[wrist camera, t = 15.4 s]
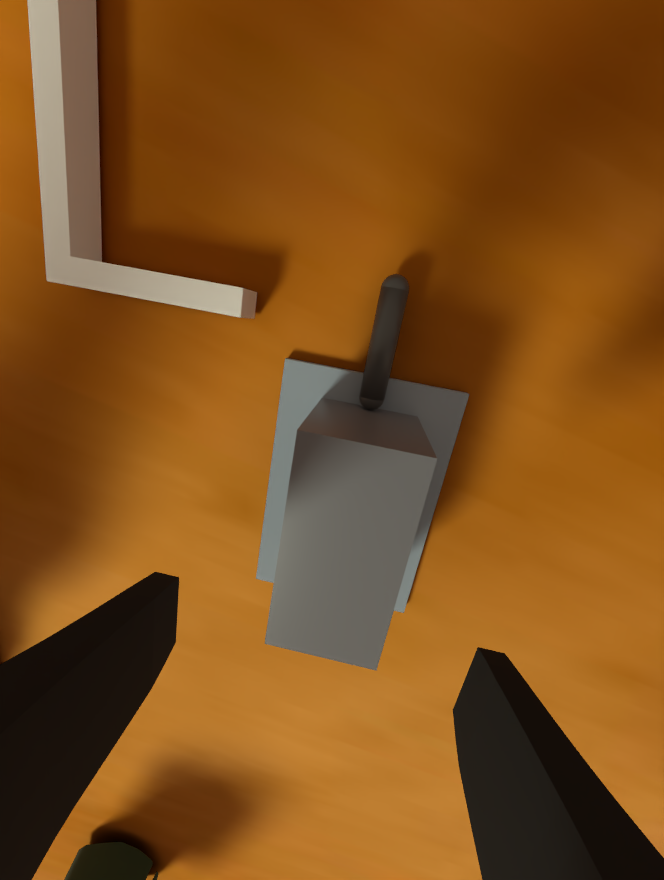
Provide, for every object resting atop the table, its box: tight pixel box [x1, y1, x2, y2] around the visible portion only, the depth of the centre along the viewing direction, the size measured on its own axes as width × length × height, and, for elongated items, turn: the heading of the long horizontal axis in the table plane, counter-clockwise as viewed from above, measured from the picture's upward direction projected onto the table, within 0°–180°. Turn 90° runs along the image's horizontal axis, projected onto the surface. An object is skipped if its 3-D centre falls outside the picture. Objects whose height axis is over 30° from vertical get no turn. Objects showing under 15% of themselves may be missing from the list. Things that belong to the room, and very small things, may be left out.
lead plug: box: [265, 274, 437, 670], centre depth 13 cm, size 14×4×5 cm, turn 170°
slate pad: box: [256, 358, 469, 613], centre depth 16 cm, size 11×8×1 cm
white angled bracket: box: [27, 0, 257, 319], centre depth 12 cm, size 12×8×2 cm, turn 170°
